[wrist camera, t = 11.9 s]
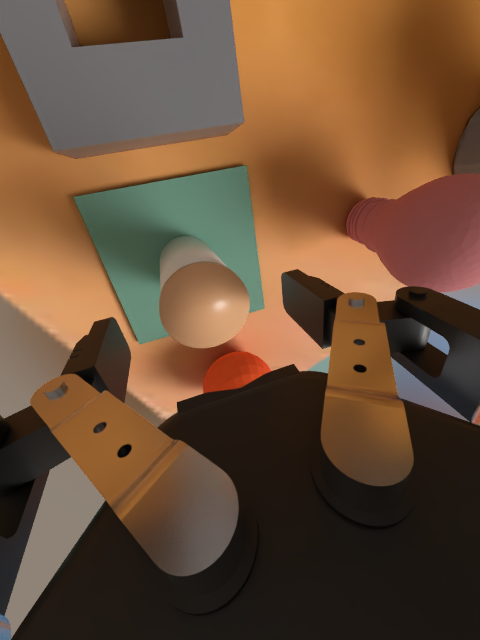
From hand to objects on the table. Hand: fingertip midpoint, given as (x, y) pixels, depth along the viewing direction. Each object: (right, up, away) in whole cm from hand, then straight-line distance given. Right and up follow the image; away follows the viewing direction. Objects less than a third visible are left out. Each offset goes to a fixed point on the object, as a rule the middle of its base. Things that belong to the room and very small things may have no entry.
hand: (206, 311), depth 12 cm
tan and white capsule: (-3, +4, +8) cm, 10 cm away
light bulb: (+12, +9, +12) cm, 19 cm away
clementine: (0, -5, +15) cm, 16 cm away
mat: (-3, +4, +9) cm, 10 cm away
